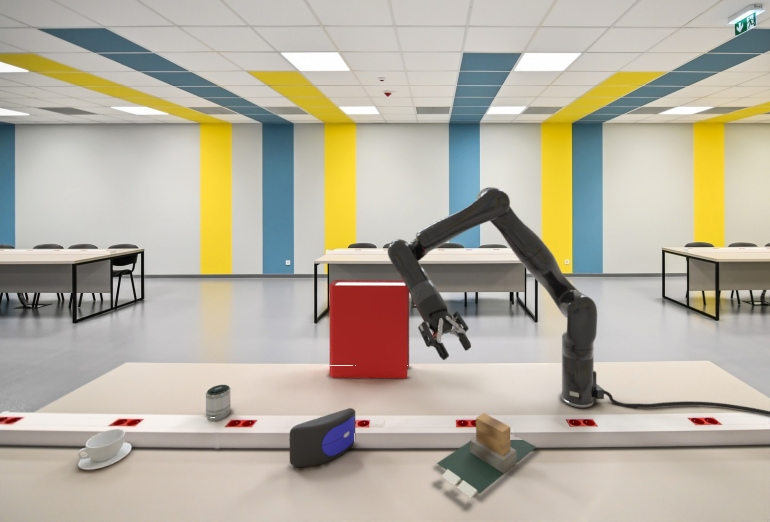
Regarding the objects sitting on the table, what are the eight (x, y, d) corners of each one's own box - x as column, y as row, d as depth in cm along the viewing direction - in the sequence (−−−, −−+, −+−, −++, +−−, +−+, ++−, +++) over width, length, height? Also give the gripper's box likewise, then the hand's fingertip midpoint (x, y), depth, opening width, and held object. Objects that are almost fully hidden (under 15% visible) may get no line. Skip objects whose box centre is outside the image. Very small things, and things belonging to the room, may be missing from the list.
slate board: (494, 428, 109) (494, 424, 109) (536, 451, 100) (536, 446, 100) (436, 468, 94) (436, 463, 94) (479, 499, 84) (479, 493, 84)
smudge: (463, 482, 88) (463, 479, 88) (477, 492, 85) (477, 489, 85) (451, 496, 85) (451, 494, 85) (465, 507, 82) (465, 505, 82)
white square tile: (448, 471, 91) (447, 468, 91) (461, 480, 88) (460, 478, 88) (436, 484, 88) (435, 482, 88) (449, 494, 86) (448, 492, 85)
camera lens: (202, 415, 115) (202, 388, 115) (225, 406, 120) (225, 380, 120) (210, 424, 111) (210, 396, 111) (234, 414, 116) (234, 387, 116)
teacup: (128, 439, 105) (128, 421, 105) (134, 457, 97) (134, 438, 97) (76, 457, 98) (76, 437, 98) (79, 478, 90) (79, 457, 90)
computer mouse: (293, 476, 91) (293, 435, 91) (288, 465, 95) (288, 425, 95) (360, 450, 100) (360, 413, 100) (353, 441, 104) (353, 404, 104)
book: (409, 367, 146) (409, 280, 146) (407, 378, 138) (407, 285, 138) (334, 367, 146) (334, 279, 146) (328, 377, 138) (328, 285, 138)
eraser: (470, 452, 98) (470, 417, 97) (483, 443, 101) (483, 409, 101) (503, 473, 90) (503, 436, 90) (516, 462, 94) (516, 426, 94)
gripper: (415, 297, 105) (446, 354, 97) (452, 288, 115) (483, 339, 107) (402, 313, 109) (431, 368, 101) (439, 302, 119) (468, 352, 111)
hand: (457, 353), depth 104 cm, fingers open, 8 cm apart
